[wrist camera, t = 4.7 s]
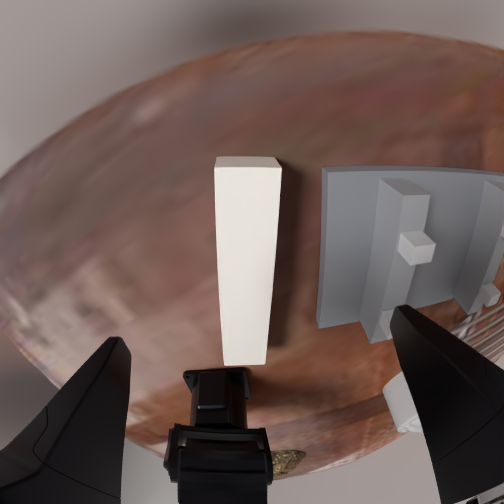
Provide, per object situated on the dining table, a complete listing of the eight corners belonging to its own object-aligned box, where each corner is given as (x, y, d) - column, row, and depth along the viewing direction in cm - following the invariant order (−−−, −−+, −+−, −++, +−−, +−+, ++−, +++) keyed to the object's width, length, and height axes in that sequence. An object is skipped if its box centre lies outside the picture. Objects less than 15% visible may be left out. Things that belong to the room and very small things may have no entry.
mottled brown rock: (241, 464, 49) (242, 482, 45) (245, 450, 43) (246, 472, 38) (296, 460, 50) (299, 478, 46) (310, 445, 44) (314, 466, 40)
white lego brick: (443, 376, 35) (462, 415, 27) (377, 403, 35) (392, 449, 28) (463, 339, 29) (490, 383, 22) (389, 370, 30) (411, 426, 23)
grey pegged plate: (507, 173, 17) (549, 198, 12) (476, 283, 23) (504, 316, 18) (321, 167, 16) (359, 201, 11) (315, 318, 23) (332, 372, 18)
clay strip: (261, 338, 25) (264, 364, 22) (224, 339, 24) (224, 365, 22) (273, 156, 16) (281, 167, 14) (217, 155, 16) (214, 167, 13)
